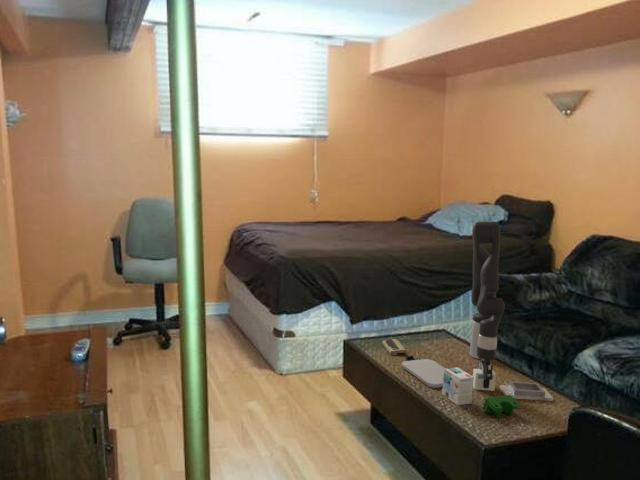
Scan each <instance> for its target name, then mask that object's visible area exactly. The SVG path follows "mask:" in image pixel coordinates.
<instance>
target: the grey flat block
mask: <svg viewBox="0 0 640 480" xmlns="http://www.w3.org/2000/svg"><path fill="white" fill-rule="evenodd" d="M499 389H500V391H501V392H502V393H503V396H506V395H511V396H512V397H513V398H514V399H515V400H517V399H518V400H519V399H520V400H534V401H543V402H544V401H545V402H546V401H547V402H553V401H554V397H553V396H552V395H551V393H549V392H548V390H547V389H546V388H545V387H542V386H541V385H540V384H539V383H538V382H526V381H525V382H524V381H512V380H511V381H510V380H509V381H508V384H507V385H506V384H505V385H504V384H499Z"/></svg>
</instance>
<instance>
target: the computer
mask: <svg viewBox="0 0 640 480" xmlns="http://www.w3.org/2000/svg"><path fill="white" fill-rule="evenodd" d="M381 344H382V345H383V347H384V348H385V349H386V351H387V352H388V353H389V355H391V356H403V355H404V356H407V354H408V353H407V350H406V348H405V347H404V346H403V345H402V343H401V342H400V341H399V339H397V338H391V339H386V340H382V342H381Z"/></svg>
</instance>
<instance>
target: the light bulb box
mask: <svg viewBox="0 0 640 480" xmlns="http://www.w3.org/2000/svg"><path fill="white" fill-rule="evenodd" d="M473 381H474V377H473V375H471V374H470V373H468V372H466V371H465V370H463V369H462V368H460V367H458V366H457V367H449V368H446V369H444V378H443V387H442V389H441V391H442V392H441V395H443V396H444V397H445V398H446V399H448V400H449V401H451V402H452V403H454V404H455V405H456V406H461V405H463V406H464V405H468V404H472V399H473V398H472V397H473V391H474V390H473V389H474V387H473Z"/></svg>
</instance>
